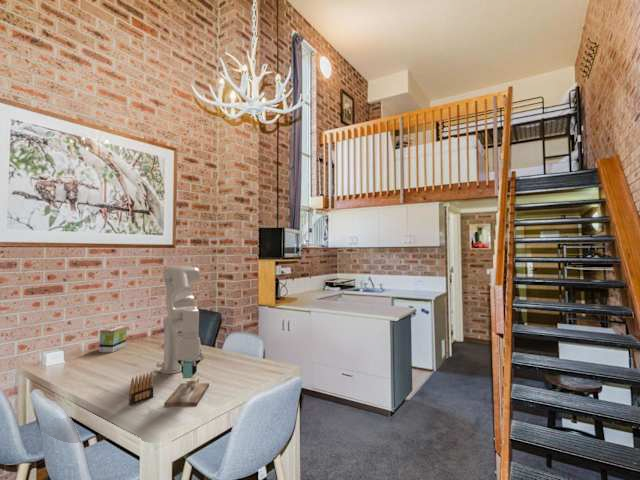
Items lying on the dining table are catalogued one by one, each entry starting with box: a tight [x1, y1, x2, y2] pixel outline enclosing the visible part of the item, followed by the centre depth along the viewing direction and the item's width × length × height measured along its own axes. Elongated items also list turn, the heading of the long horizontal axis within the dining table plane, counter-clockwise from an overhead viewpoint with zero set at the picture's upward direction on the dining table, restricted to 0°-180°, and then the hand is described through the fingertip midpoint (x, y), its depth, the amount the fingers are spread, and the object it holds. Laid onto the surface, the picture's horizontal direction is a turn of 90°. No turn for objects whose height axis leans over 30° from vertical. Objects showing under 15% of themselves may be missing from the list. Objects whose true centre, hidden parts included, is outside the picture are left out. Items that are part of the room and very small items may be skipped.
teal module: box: [182, 360, 196, 379], centre depth 163 cm, size 4×6×7 cm, turn 4°
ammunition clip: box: [128, 371, 154, 406], centre depth 156 cm, size 11×2×12 cm, turn 149°
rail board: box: [163, 376, 210, 407], centre depth 162 cm, size 14×22×5 cm, turn 4°
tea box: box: [98, 325, 128, 353], centre depth 235 cm, size 15×10×15 cm, turn 179°
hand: (188, 373), depth 162 cm, fingers closed on teal module, 4 cm apart
